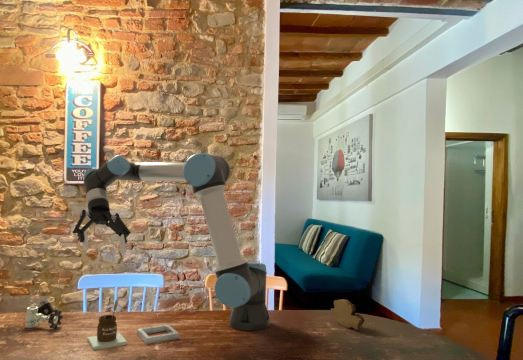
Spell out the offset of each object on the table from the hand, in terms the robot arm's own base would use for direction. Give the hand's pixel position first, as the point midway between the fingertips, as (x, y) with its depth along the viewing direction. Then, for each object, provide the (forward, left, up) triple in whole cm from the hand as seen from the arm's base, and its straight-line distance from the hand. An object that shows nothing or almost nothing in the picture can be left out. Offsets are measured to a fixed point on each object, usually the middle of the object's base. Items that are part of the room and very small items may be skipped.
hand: (105, 250), depth 149 cm
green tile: (+1, +13, -28) cm, 31 cm away
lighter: (+17, -26, -28) cm, 42 cm away
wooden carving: (-80, +37, -28) cm, 92 cm away
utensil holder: (+1, +13, -27) cm, 30 cm away
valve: (+18, -13, -28) cm, 36 cm away
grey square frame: (-15, +15, -28) cm, 35 cm away
